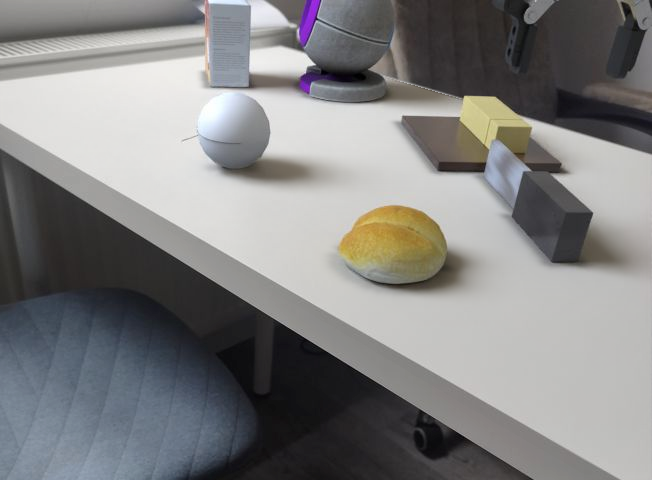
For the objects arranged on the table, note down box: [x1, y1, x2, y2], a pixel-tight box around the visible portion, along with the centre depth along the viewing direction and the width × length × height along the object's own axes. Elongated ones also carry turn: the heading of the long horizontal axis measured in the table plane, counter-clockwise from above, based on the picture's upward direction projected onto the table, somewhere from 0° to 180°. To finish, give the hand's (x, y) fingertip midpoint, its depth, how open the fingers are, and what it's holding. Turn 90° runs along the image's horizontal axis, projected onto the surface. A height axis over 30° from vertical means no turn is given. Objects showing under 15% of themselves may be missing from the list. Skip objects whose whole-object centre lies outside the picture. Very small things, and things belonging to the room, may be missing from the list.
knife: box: [483, 140, 594, 263], centre depth 65 cm, size 19×2×4 cm, turn 8°
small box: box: [204, 0, 252, 88], centre depth 96 cm, size 8×6×10 cm
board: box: [400, 115, 563, 173], centre depth 82 cm, size 14×16×1 cm
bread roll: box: [338, 204, 448, 285], centre depth 56 cm, size 8×9×4 cm
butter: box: [459, 95, 524, 145], centre depth 82 cm, size 4×9×3 cm, turn 8°
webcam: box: [298, 0, 396, 103], centre depth 94 cm, size 13×13×15 cm
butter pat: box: [485, 119, 533, 153], centre depth 78 cm, size 4×2×3 cm, turn 98°
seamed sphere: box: [181, 91, 272, 170], centre depth 69 cm, size 10×7×7 cm
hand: (566, 74), depth 57 cm, fingers open, 8 cm apart
